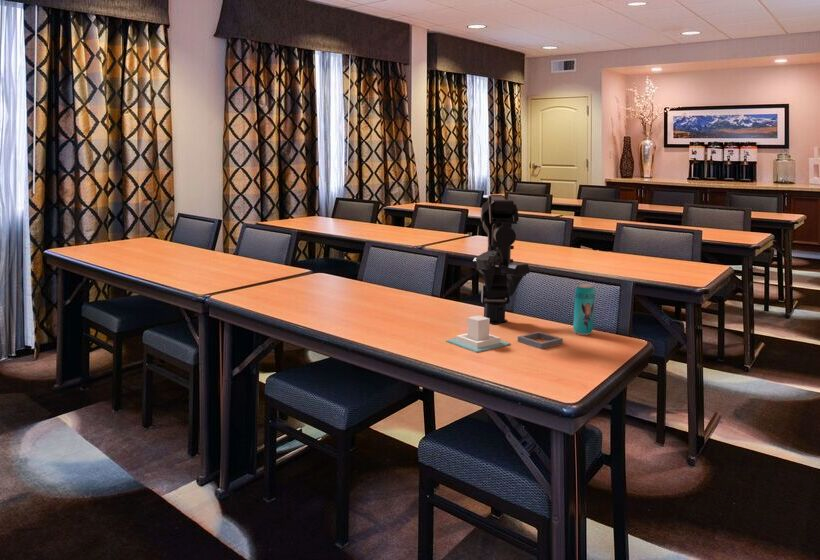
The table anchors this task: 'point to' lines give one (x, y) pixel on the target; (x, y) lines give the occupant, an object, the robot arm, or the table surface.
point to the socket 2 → (551, 342)
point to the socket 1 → (477, 343)
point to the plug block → (478, 328)
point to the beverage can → (584, 308)
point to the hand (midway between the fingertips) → (499, 293)
